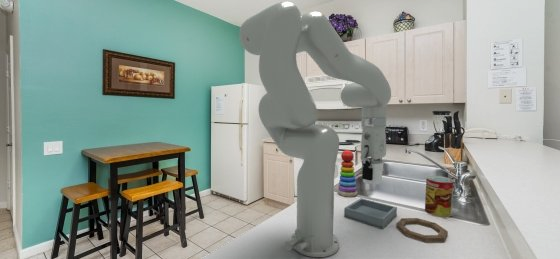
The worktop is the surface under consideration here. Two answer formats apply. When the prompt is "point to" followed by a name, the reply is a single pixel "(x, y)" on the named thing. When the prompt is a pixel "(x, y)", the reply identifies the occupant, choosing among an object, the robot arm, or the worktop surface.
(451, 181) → the canned food
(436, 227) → the coaster ring
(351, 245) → the worktop surface
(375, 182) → the white cylinder
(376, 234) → the worktop surface
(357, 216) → the tray
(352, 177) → the stacking toy
